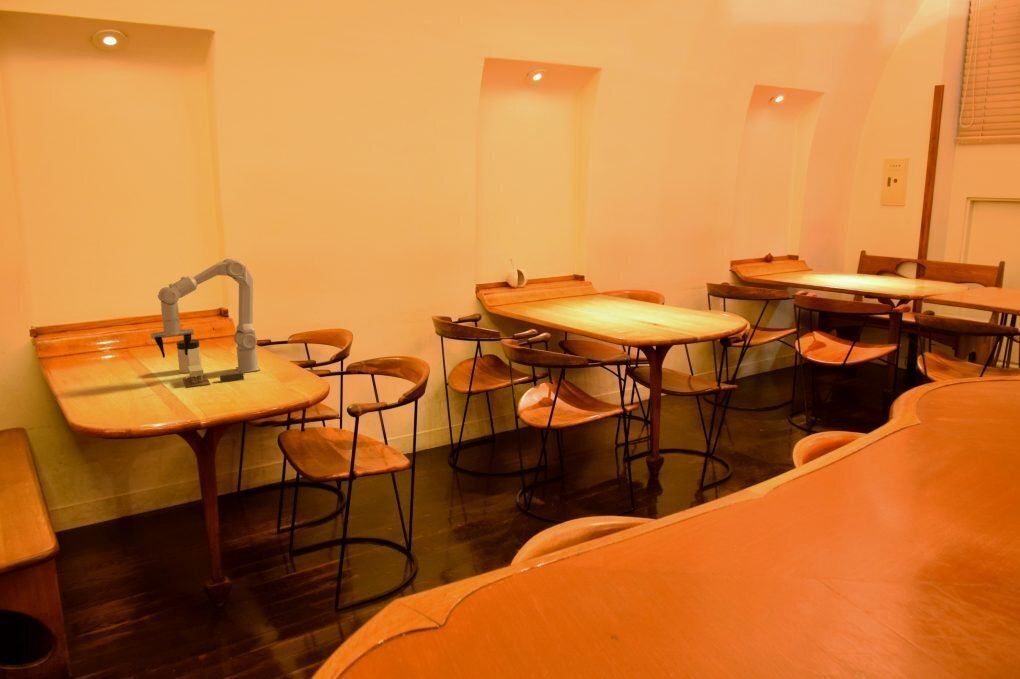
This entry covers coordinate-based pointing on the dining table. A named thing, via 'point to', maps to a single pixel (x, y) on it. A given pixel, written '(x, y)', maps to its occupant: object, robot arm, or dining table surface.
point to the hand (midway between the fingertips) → (175, 355)
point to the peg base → (196, 381)
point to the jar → (192, 356)
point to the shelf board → (195, 370)
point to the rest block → (231, 376)
